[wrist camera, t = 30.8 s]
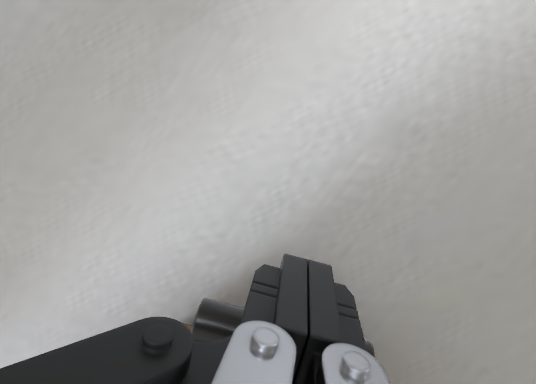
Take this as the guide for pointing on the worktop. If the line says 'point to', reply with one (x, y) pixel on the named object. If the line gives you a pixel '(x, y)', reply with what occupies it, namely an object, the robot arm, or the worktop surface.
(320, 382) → the robot arm
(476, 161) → the worktop surface
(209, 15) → the worktop surface
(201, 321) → the drawer
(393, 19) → the worktop surface
